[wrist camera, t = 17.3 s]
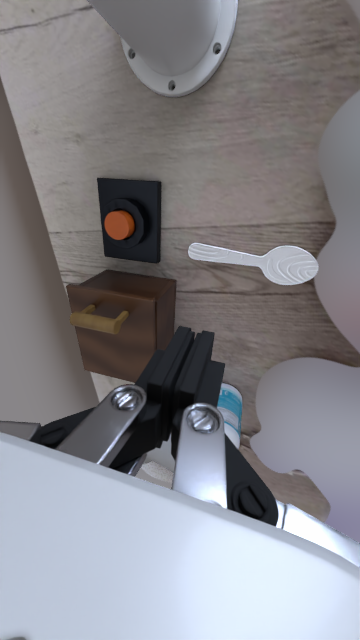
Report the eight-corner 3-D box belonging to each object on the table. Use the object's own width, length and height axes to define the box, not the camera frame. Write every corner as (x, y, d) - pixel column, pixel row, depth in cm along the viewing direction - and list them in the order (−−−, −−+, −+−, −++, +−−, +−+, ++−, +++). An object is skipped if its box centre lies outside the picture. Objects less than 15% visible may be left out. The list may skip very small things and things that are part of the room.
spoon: (190, 231, 36) (189, 231, 35) (324, 250, 32) (325, 251, 32) (186, 267, 38) (185, 268, 38) (310, 289, 35) (311, 290, 34)
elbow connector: (181, 398, 50) (115, 417, 59) (172, 451, 42) (97, 464, 51) (225, 439, 58) (160, 450, 67) (225, 491, 50) (151, 496, 59)
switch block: (102, 178, 36) (88, 177, 33) (161, 181, 34) (151, 181, 31) (109, 254, 41) (97, 259, 38) (160, 261, 39) (152, 267, 36)
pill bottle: (227, 415, 51) (217, 482, 39) (197, 395, 50) (179, 456, 39) (251, 396, 47) (248, 464, 35) (219, 374, 46) (206, 436, 35)
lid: (69, 283, 34) (42, 299, 30) (155, 298, 31) (138, 318, 27) (87, 367, 42) (67, 388, 38) (156, 384, 39) (143, 409, 35)
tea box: (106, 269, 43) (73, 287, 35) (176, 279, 40) (157, 301, 32) (113, 339, 50) (87, 366, 42) (173, 352, 47) (156, 384, 40)
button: (110, 209, 34) (103, 210, 33) (134, 211, 34) (128, 212, 32) (112, 236, 36) (105, 238, 34) (135, 238, 35) (129, 241, 34)
